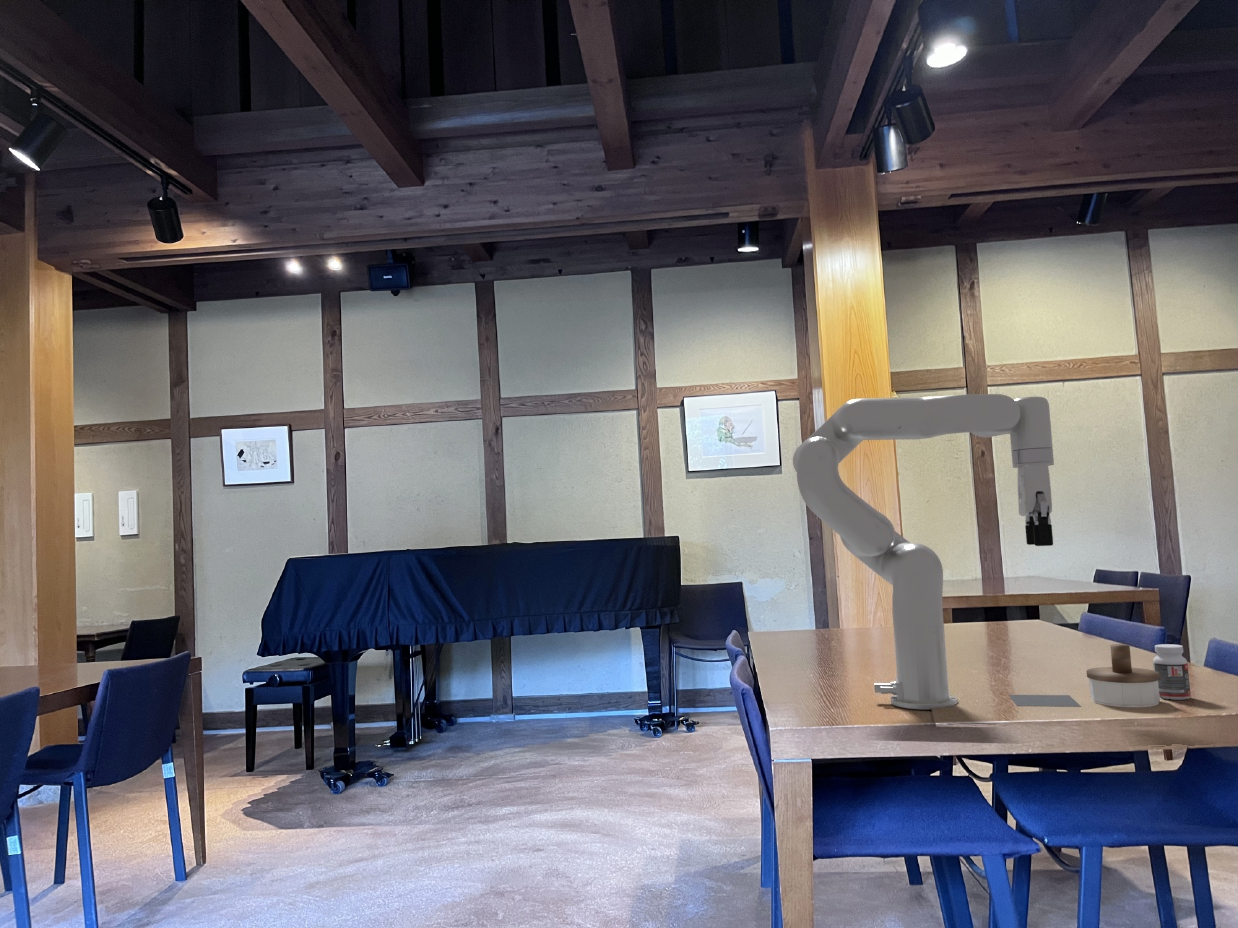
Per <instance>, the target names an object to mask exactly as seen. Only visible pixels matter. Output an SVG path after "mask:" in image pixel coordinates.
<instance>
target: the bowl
mask: <svg viewBox="0 0 1238 928" xmlns="http://www.w3.org/2000/svg"><path fill="white" fill-rule="evenodd" d="M1088 682H1089V683H1088V684H1089V695H1090V696H1089V697H1090V698H1091V701H1092V702H1093V703H1095V704H1099V705H1102V706H1110V707H1119V708H1151V707H1155V706H1157V705H1159V704H1160V701H1161V698H1160V696H1159V685H1158V681H1154V682H1146V683H1117V682H1106V681H1099V680H1094V679H1090V678H1088Z"/></svg>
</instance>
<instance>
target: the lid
mask: <svg viewBox="0 0 1238 928" xmlns="http://www.w3.org/2000/svg"><path fill="white" fill-rule="evenodd" d="M1109 646H1110V656H1111V657H1110V659H1111V666H1106V667H1105V666H1103V667H1094V668H1093V667H1092V668H1088V669H1087V670H1086V677H1087V678H1088V679H1089V678H1090V679H1094V680H1099V681H1106V682H1117V683H1146V682H1154V681H1158V680H1160V675H1159V672H1157V671H1154V669H1148V668H1140V667H1132V659H1131V658H1132V657H1131V645H1129V644H1124V643H1115V644H1114V643H1113V644H1109Z"/></svg>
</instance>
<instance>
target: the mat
mask: <svg viewBox="0 0 1238 928" xmlns="http://www.w3.org/2000/svg"><path fill="white" fill-rule="evenodd" d="M1008 696H1009V697H1010V699H1011V700H1012V701H1013V703H1014V704H1015V705H1016V707H1055V708H1056V707H1060V708H1062V707H1063V708H1064V707H1067V708H1068V707H1069V708H1071V707H1072V708H1074V707H1075V708H1076V707H1077V708H1081V707H1082V705H1080V704H1079V703H1078V702H1077V701H1076V700H1075V699H1074V698H1073V697H1072V696H1071V695H1069V694H1008Z"/></svg>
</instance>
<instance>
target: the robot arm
mask: <svg viewBox="0 0 1238 928" xmlns="http://www.w3.org/2000/svg"><path fill="white" fill-rule="evenodd" d="M963 433H971V434H973V435H974V436H976V437H979V438H993V437H998V436H1002V435H1003V436H1004V435H1010V436H1009V439H1010V449H1011V450H1010V451H1011V461H1012V468H1016V469H1017V497H1018V498H1017V501H1018V504H1017V505H1018V514H1019V516H1021V517H1025V520H1024V521H1025V525H1024V527H1025V541H1026V545H1028V546H1031V545H1033V546H1035V547H1050V546H1053V545H1054V538H1053V537H1054V536H1053V535H1054V534H1053V526H1052V525H1053V524H1052V520H1051V516H1050V515H1051V513H1052V512H1053V511H1052V510H1053V502H1052V489H1051V486H1052V485H1051V478H1050V471H1049V467H1050V466H1054V465H1055V462H1054V461H1055V460H1054V448H1053V437H1052V436H1053V435H1052V423H1051V412H1050V403H1049V400H1048V399H1047V398H1045V397H1043V396H1025V397H1018V398H1015V399H1014V398H1012V397H1010V396H1009V395H1006V394H1001V393H988V394H987V393H986V394H985V393H984V394H983V393H981V394H979V393H978V394H977V393H975V394H973V393H971V394H954V395H941V396H940V395H938V396H934V395H933V396H920V397H919V396H918V397H882V398H881V397H877V398H876V397H872V398H870V397H869V398H867V397H865V398H855V399H854V398H853V399H850V400H848V401H846V402H845V403H844V404H843V405H841V406H840V407H839V408H837V410H835V412H834V413H833V414H832V415H831V416H830V417H829V418H828V419H827V420H826V421H825V422H824V423H822V425H821V426H819V428H817V429H816V430H815V431H814V432H813V433H812V434H810V436H809V437H808V438H807V439H805V440H804V441H803V442H802V443H801V444H800V445H799V446H797V448H796V449H795V451H794V453H793V456H792V465H793V468H794V470H795V472H796V482H797V486H798V490H799V493H800V495H801V498H802V500H803V501H804V503H805V505H806V506H807V507H808V508H809V510H810V511H811V512H812V513H813V514H814V515H815V516H817V517H818V518H819V519H820V520H821V521H822V522H823V523H825V524H826V525H827V526H828V527H829V528H830V529H831V530H832V531H834V532H835V533H836V534H837V535H839V537H840V540H841V543H842V545H843V546H844V547H845V549H847V551H849V553H850V554H852V555H853V556H854V557H855V558H856V559H858V560H859V561H860V562H862V564H864V565H865V566H866V567H868V568H869V569H871V570H872V572H874V573H876V574H877V575H878V576H879V577H880V578H881V579H883V580H885V581H886V582H887V583H888V584H890V585H892V598H891V599H892V602H891V603H892V607H891V609H892V624H893V637H894V652H895V667H896V678H895V681H890V683H883V682H879V683H878V682H874V683H873V685H874V687H873V688H874V693H876V694H880V695H885V694H891V695H892V696H891V697H890V704H891V705H893V706H895V707H898V708H902V709H909V710H922V711H923V710H925V711H926V710H927V711H929V710H931V711H932V709H937V708H938V709H939V708H947V707H948V708H949V707H952V706H956V705H957V704H958V703H959V699H958V698H957V696H955V695H951V694H950V691H949V690H950V689H949V678H948V664H947V650H946V637H945V623H944V612H943V611H944V610H943V588H944V568H943V565H942V564H943V563H942V561H941V559H940V557H939V556H938V555H937V553H936V552H935V551H934V550H933V549H932V548H930V547H929V546H927V545H924V544H921V543H916V542H915V543H913V542H910V541H909V540H907V539H906V538H905V537H904V536H902V534H899V533H898V532H897V531H896V530H895V527H894V525H893V523H892V522H891V520H890V519H889V518H888V517H887V516H886V515H884V514H883V513H882V512H880V511H879V510H877V509H876V508H875V507H873V506H872V505H870V504H869V503H867V502H866V501H865V500H864V499H862V498H861V497H860V496H859V495H857V494H856V493H855V492H854V491H853V490H852V489H851V488H850V487H849V486H847V484H846V483H844V481H843V480H842V478H841V476H840V473H839V464H840V463H841V462H842V461H843V460H844V459H845V458H846V457H847V456H848V455H850V454H851V452H853V451H854V450H855V449H856V448H857V447H858V446H859V445H860V444H861V443H862V442H863V441H882V440H883V441H885V440H886V441H887V440H890V441H891V440H897V441H898V440H903V441H905V440H922V439H931V438H932V439H933V438H936V437H940V436H943V435H953V434H963Z"/></svg>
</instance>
